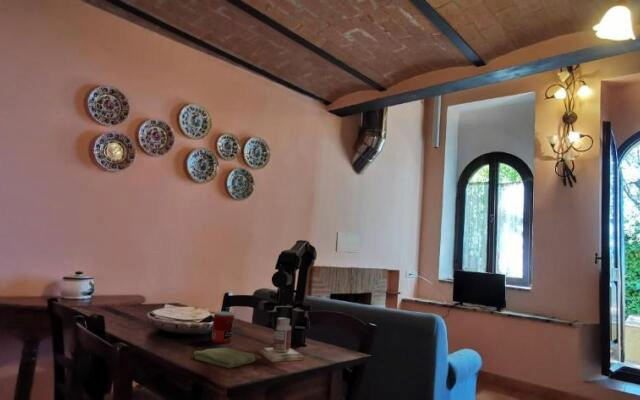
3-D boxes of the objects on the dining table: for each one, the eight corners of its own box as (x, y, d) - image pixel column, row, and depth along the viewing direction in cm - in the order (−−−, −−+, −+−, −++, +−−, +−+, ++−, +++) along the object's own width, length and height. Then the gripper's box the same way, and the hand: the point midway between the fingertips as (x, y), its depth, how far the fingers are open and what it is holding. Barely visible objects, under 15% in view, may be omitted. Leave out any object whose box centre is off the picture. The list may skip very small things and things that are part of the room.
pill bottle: (285, 347, 154) (287, 317, 155) (292, 352, 149) (295, 319, 150) (269, 348, 151) (272, 317, 152) (276, 353, 146) (279, 320, 147)
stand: (289, 351, 157) (289, 346, 158) (303, 359, 147) (304, 354, 147) (259, 353, 152) (259, 347, 152) (271, 361, 141) (272, 355, 142)
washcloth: (219, 353, 149) (220, 343, 149) (257, 363, 139) (258, 353, 139) (190, 359, 138) (191, 349, 138) (228, 371, 128) (229, 360, 129)
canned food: (227, 344, 161) (230, 315, 162) (207, 342, 162) (210, 313, 164) (234, 340, 168) (237, 312, 170) (216, 338, 170) (219, 310, 171)
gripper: (300, 284, 164) (296, 325, 162) (255, 283, 155) (250, 326, 153) (313, 288, 154) (310, 331, 152) (266, 286, 145) (262, 332, 143)
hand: (283, 330), depth 151 cm, fingers open, 7 cm apart
